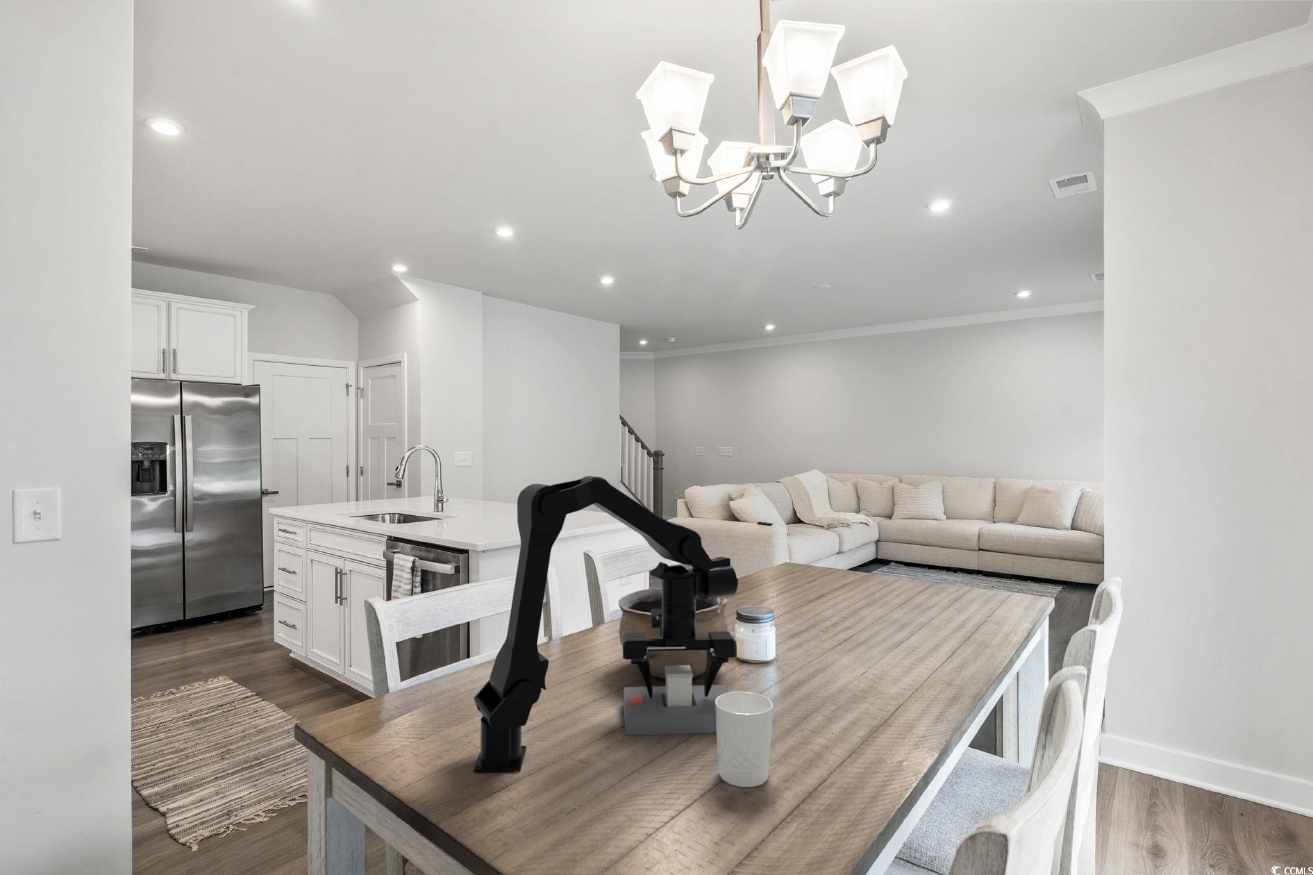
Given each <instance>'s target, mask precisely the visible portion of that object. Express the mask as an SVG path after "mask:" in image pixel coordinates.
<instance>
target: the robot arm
mask: <svg viewBox="0 0 1313 875" xmlns="http://www.w3.org/2000/svg"><path fill="white" fill-rule="evenodd" d="M592 505H594V506H595V507H597V508H598V509H599V510H601V511H603V512H605V513H606V514H607V515H609V516H611V517H612V518H614V519H615V520H617V521H618V522H621V524H623V525H625V526H626V527H628V528H629V529H631V530H633V531H634V532H635V533H637V534H639V535H640V536H642V538H644V540H645V541H646V543H647V544H648V545H649V546H650V547H651V549H653V550H654V551H655V552H656V553H657V554H658V555H659V556H660V557H662V558H664V559H665V560H669V561H672V562H675V563H679V564H678V565H670V566H669V565H668V563H665V562H662V561H659V563H658V564H657V566H656V567H654V568H653V569H652V570H651V571H650V572H649V575H650V577H653V578H655V579H659V580H661V588H662V610H661V609H651V628H660V636H662V639H647V638H646V633H625V635H624V636H623V642H622V644H621V646H622V647H621V648H622V659H624V660H630V664H631V665H635V666H636V665H638V666H637V667H638V670H639V671H640V674H641V676H642V678H643V681H644V683H645V687H647V690H648V693H649V697H650V698H652V692H653V691H652V687H653V682H652V675H651V674H650V666H649V659H648V651H680V650H707V661H706V671H705V672H704V683H703V685H704V695H705V697H707V696H708V694H709V691H710V689H711V687H712V685H714V682H715V679H716V677H717V675H718V674H719V671H720V670H721V668H722V666H723V664H725V663H726V664H727V663H729V661H730V658H736V657H737V656H738V655H737V654H738V645H737V641H736V639H735V638H734V636H733V635H732V634H731V632H730V631H729V630H727V631H720V632H709V634H708V638H696V594H697V595H698V597H699V598H701V599H703V600H706V599H713V598H727V597H731V596H734V595H735V594H736V593H737V590H738V586H739V578H738V576H737V574H736V570H735V569H734V568H733V566H732V564H731V558H729V557H727V556H726V557H725V556H717V557H715V558H710V556H709V555H708V553H707V551H706V550H705V548H704V547H703V543H702V537H701V535H700V534H699V533H698V532H697V531H695V530H693V529H691V528H688V527H686V526H683V525H681V524H678V523H676V522H672V521H669V520H668V519H665V518H662V517H660V516H659V515H658V514H656V513H654V512H653V511H651V510H650V509H648V508H646V507H645V506H643V505H642V504H640V503H639V502H638V501H636V500H635V499H633V498H632V497H630V496H629V495H627V494H625V493H624V492H623V491H621V490H619V489H618V488H617V487H615V486H614V485H613V484H612V485H611V484H610V482H608V480H607V479H605V478H603V477H601V476H594V475H586V476H584V477H581V478H579V479H575V480H569V481H565V482H558V483H554V484H552V485H551V484H550V485H549V484H544V483H543V484H542V483H532V484H529V485H527V486H526V487H525V488H523V489H521V491H520V493H519V494H518V497H517V503H516V506H517V508H516V511H517V512H516V513H517V516H516V518H517V528H518V532H519V538H520V549H519V553H518V554H519V555H518V561H517V562H518V563H517V569H516V574H515V580H514V581H515V582H514V587H513V594H512V601H511V607H510V614H509V620H508V627H507V634H506V638H505V640H504V642H503V644H502V645H501V647H500V649H499V651H498V652H497V654H496V657H495V660H494V663H493V666H492V670H491V672H490V676H489V679H488V681H486V683H485V684H484V685H483V687H481V689H480V690H479V691H478V692H477V693H476V695H475V696H474V697H473V701H474V703H475V705H476V709H477V711H479V712H480V714H481V717H480V752H479V755H478V757H477V758H476V762H475V763H474V766H473V772H475V773H483V772H484V773H487V772H490V773H491V772H514V771H515V772H517V771H520V770H521V769H522V768H523V767H522V766H523V763H524V759H525V757H526V753H527V746H526V745H522V727H525V726H526V725H527V723H528V719H529V717H530V715H531V714H530V713H531V710H532V709H533V708H532V707H533V706H534V705H535V704H537V703H538V701H539V699H540V698H541V693H542V690H544V691H545V690H546V689H547V686H546V674H547V672H548V669H549V664H550V661H549V659H548V658H547V657H546V656H544V655H543V654H541V653H540V652H539V648H538V641H539V633H540V628H541V627H540V626H541V621H542V620H541V619H542V614H543V609H544V602H545V601H544V600H545V593H546V586H547V582H548V581H547V580H548V575H549V574H548V573H549V566H550V559H551V554H552V549H553V546H554V544H555V542H556V541H557V539H558V537H559V535H560V534H561V532H562V530H563V526H564V524H565V520H566V517H567V515H569V514H572V513H575V512H576V513H577V512H579V511H582V510H583V509H585V508H587V507H590V506H592ZM684 565H685V566H686V565H687V566H690V567H692V568H688V569H687V567H685V566H684Z"/></svg>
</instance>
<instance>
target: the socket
mask: <svg viewBox="0 0 1313 875" xmlns="http://www.w3.org/2000/svg"><path fill="white" fill-rule="evenodd" d="M652 691H653V692H652V698H650V697H649V693H648V690H647V687H646V686H627V687H626V686H624V687H623V711H624V712H623V716H624V718H623V719H624V733H625V734H624V735H625V736H652V735H683V734H684V735H686V734H687V735H689V734H716V710H715V700H716V698H717V697H718V696H720V695H722V694H725V693H729V692H730V691H729V689H728V688H727V685H726V684H712V687H711V689H710V691H709V694H708V696H707V697H705V695H704V684H703V685H702V684H701V685H700V684H699V685H692V706H671V707H665V697H666V685H664V686H663V685H662V686H661V685H660V686H652Z"/></svg>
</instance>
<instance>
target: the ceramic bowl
mask: <svg viewBox="0 0 1313 875" xmlns="http://www.w3.org/2000/svg"><path fill="white" fill-rule="evenodd" d="M720 598H721V597H720ZM720 598H713V599H706V600H703V599H701V598H699V597H698V595H697V594H696V638H708V634H709V632H720V631H728V622H727V618H726V615H725V609H726V606H727V603H728V602H727V601H728V599H727V597H722V600H721V599H720ZM618 606H619V608H620V610H621V612H622V614H621V617H620V621H619V629H618V633H619V634H618V635H619V641H620V644H621V645H622V642H623V636H624V635H625V633H646V638H647V639H662V636H660V628H651V609H661V610H662V587H651V588H647V589H641V590H637V591H633V592H631V593H628V594H627V593H626V595H624V596H622V597H621V598H620V599H619V600H618ZM648 659H649V666H650V674H651V677H652V676H653V677H655V678H658V679H663V680H666V671H665V666H671V665H690V668H691V671H692V674H693V678H696V677H698V676H701V675H703V674H705V671H706V661H707V650H680V651H648ZM637 667H638V665H637Z"/></svg>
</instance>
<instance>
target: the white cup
mask: <svg viewBox="0 0 1313 875" xmlns="http://www.w3.org/2000/svg"><path fill="white" fill-rule="evenodd" d="M773 706H774V705H773V701H772V700H771V699H769V698H768V697H766V696H764V695H762V694H760V693H756V692H751V691H750V692H749V691H729V693H725V694H722V695H720V696H718V697H717V698H716V700H715V710H716V733H715V734H716V746H717V747H716V748H717V750H716V751H717V756H718V758H717V759H718V774H719V776H720V777H721V780H722V781H724V782H726V783H727V784H729V785H731V786H735V787H740V788H754V787H757V786H758V787H759V786H762V785H764V783H766V782H767V781H768V778H769V764H770V758H771V747H772V745H771V744H772V742H771V741H772V733H773V732H772V729H773V728H772V727H773V712H774V711H773V710H774V709H773V708H774V707H773Z"/></svg>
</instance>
